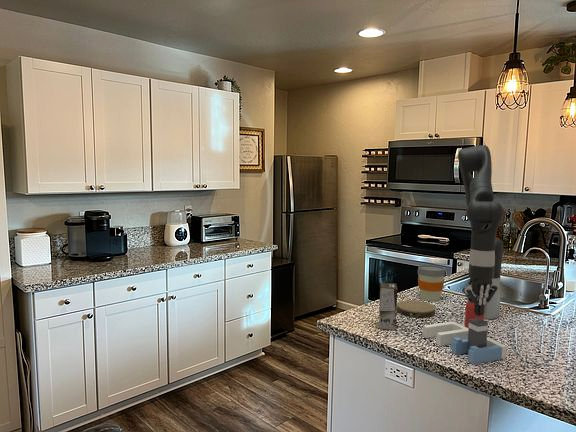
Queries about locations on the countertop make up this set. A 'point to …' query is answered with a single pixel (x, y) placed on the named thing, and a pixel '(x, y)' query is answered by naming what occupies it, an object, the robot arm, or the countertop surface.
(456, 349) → the duct comb
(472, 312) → the beer can
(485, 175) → the robot arm
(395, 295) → the coffee box
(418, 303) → the ringed wooden coaster
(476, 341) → the grey trapezoid block
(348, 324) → the countertop surface
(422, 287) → the reusable coffee cup
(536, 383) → the countertop surface
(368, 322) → the countertop surface
